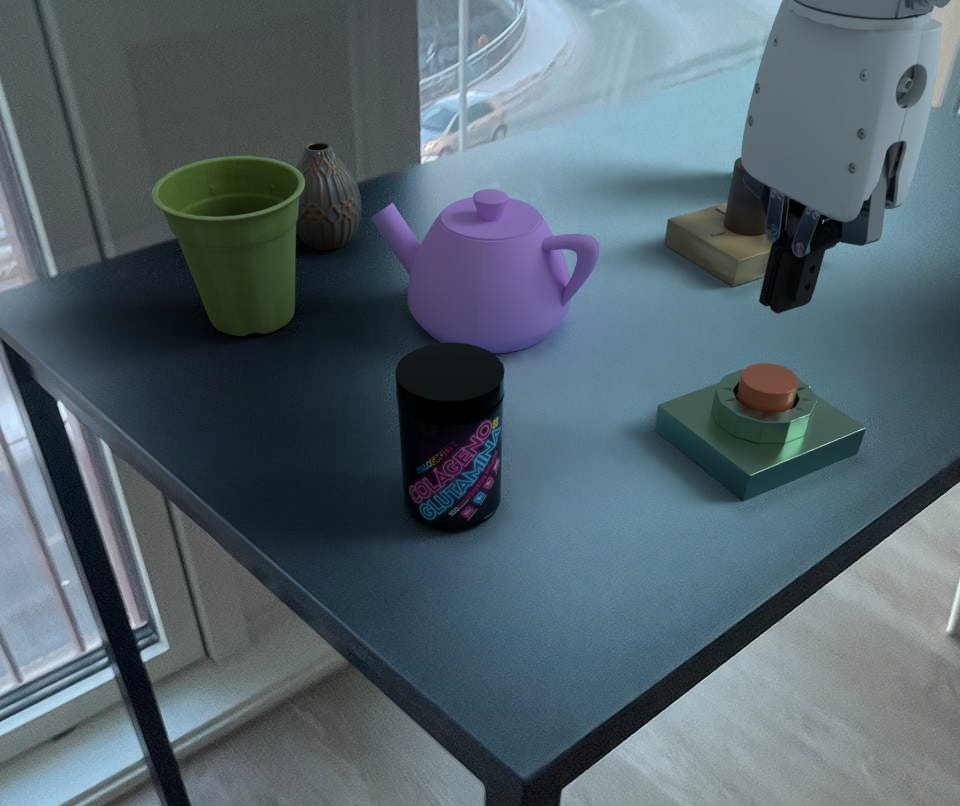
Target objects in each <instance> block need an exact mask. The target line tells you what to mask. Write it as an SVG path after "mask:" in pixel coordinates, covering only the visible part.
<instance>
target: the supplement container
mask: <svg viewBox="0 0 960 806" xmlns="http://www.w3.org/2000/svg"><path fill="white" fill-rule="evenodd" d="M394 372H395V373H394V375H395V396H396V397H395V399H396V401H397V413H398V414H397V415H398V416H397V417H398V428H399V445H400V460H401V461H400V462H401V463H400V464H401V477H402V478H401V479H402V496H403V503H404V506H405V508H406V510H407V513H408V514H409V515H410V516H411V517H412V518H413V519H414V520H415V521H417V522H418V523H419V524H421V525H422V526H424V527H427V528H429V529H432V530H436V531H439V532H445V533H446V532H448V533H456V532H464V531H469V530H472V529H475V528H477V527H479V526H482V525H483V524H485V523H486V522H488V521H489V520H490V519H491V518H492V517H493V516H494V515H495V513H496V512H497V510H498V508H499V506H500V504H501V500H502V471H503V470H502V465H503V427H504V424H503V423H504V399H505V366H504V364H503V362H502V360H501V359H500V358H499V357H498V356H497V355H496V354H495V353H494V354H493V353H491V352H490V351H488V350H486V349H483V348H481V347H478V346H474V345H470V344H464V343H441V342H436V343H431V344H427V345H423V346H420V347H418V348H415V349H413V350H412V351H409V352H408V353H406V354H404V356H402V357H401V358H400V359H399V361H398V363H397V364H396V366H395V371H394Z"/></svg>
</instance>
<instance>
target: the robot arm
mask: <svg viewBox="0 0 960 806" xmlns="http://www.w3.org/2000/svg"><path fill="white" fill-rule="evenodd" d="M950 2H951V0H781V3H780V5H779V8H778V9H777V13H776V15H775V18H774V21H773V23H772V26H771V29H770V31H769V35H768V37H767V41H766V44H765V48H764V50H763V52H762V56H761V58H760V63H759V67H758V69H757V73H756V77H755V80H754V85H753V89H752V92H751V97H750V100H749V101H750V102H749V104H748V109H747V114H746V119H745V123H744V128H743V135H742V141H741V151H740V157H741V161H742V165H743V167H744V168H745V172H744V176H743V181H744V184H745V185H746V187H748V188H749V189H750V190H751V191H752V192H753V193H754V194H755V195H756V196H757V197H758V198H759V199H761V202H762V205H763V208H764V211H765V214H766V217H767V222H766V238H767V240H768V241H769V242H771V243H772V246H771V250H770V254H769V259H768V263H767V267H766V272H765V276H764V277H763V281H762V285H761V289H760V293H759V297H758V302H759V304H761V305H762V306H764V307H766V308H767V307H769V309H770V310H771V311H772V312H774V314H781V313H785V312H788V311H792V310H794V309H797V308H800V307H803V306H807V305H808V304H810V302H811V301H812V298H813V295H814V293H815V291H816V286H817V282H818V278H819V275H820V271H821V267H822V264H823V261H824V257H825V254H826V251H827V250H830V249H833V248H835V247H836V246H837V245H838V244H839V243H841V244H846V245H847V244H848V245H853V246H857V247H858V246H859V247H860V246H865V245H869V244H873V243H876V242H878V241H879V240H881V238H882V235H883V228H884V220H885V219H884V218H885V210H893V209H897V208H899V207H901V206H902V205H903V204H904V203H905V201H906V198H907V197H908V194H909V191H910V187H911V185H912V182H913V180H914V175H915V172H916V169H917V166H918V165H917V164H918V162H919V159H920V154H921V151H922V146H923V143H924V139H925V135H926V130H927V128H928V127H927V126H928V123H929V118H930V113H931V108H932V104H933V99H934V93H935V88H936V84H937V83H936V82H937V76H938V71H939V62H940V55H941V46H942V45H941V44H942V29H943V23H942V22H941V21H939V20H937V19H934V18H932V14H933V11H934V8H938V9H942V8H945V7H946V6H948V4H949V3H950Z"/></svg>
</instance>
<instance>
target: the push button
mask: <svg viewBox="0 0 960 806" xmlns="http://www.w3.org/2000/svg"><path fill="white" fill-rule="evenodd" d="M743 369H744V370H743V372H742V374H741V378H740V383H739V387H738V392H737V400H738V401H739V402H740V403H742V404H743V405H745V406H746V407H747V408H750V409H754V410H757V411H761V412H764V413H766V412H784V411H787V410H789V409H791V408H792V406H793V404H794V400H795V397H796V393H797V389H798V385H799V380H800V378H799V377H798V375H797V374H796V373H795V372H794V371H792V370H791V369H790V368H788V367H785V366H783V365H779V364H775V363H769V362H766V363H765V362H762V363H761V362H760V363H754V364H751V365H748V366H747V367H745V368H743Z"/></svg>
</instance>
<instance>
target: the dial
mask: <svg viewBox="0 0 960 806" xmlns="http://www.w3.org/2000/svg"><path fill="white" fill-rule="evenodd" d="M744 172H745V168H744V167H743V165H742V161H741V156H740V157H738V158H737V159H735V161H734V163H733V170H732V175H731V179H730V180H731V181H730V185H729V191H728V192H729V193H728V196H727V202H726V203H727V207H726V213H725V218H724V225H725V227H726V228H727V229H729V230H730V231H732V232H735V233H738V234H743V235H761V234H764V233H766V222H767V217H766V214H765V211H764V208H763V205H762V202H761V199H759V198H758V197H757V196H756V195H755V194H754V193H753V192H752V191H751V190H750V189H749V188H748V187H746V185H745V184H744V181H743V176H744Z"/></svg>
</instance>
